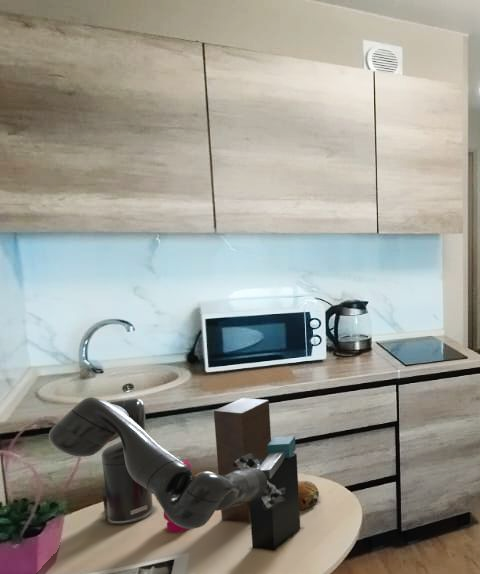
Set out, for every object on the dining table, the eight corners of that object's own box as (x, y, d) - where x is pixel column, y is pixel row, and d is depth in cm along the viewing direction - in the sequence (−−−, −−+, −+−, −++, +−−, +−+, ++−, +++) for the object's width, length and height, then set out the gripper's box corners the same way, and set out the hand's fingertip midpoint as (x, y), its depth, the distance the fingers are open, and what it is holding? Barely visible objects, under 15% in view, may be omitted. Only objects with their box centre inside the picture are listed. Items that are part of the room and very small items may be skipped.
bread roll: (313, 503, 175) (306, 477, 176) (327, 500, 169) (320, 474, 170) (277, 516, 167) (271, 490, 168) (291, 514, 161) (284, 486, 162)
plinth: (221, 520, 158) (213, 410, 153) (249, 501, 168) (242, 397, 163) (248, 523, 158) (241, 413, 152) (274, 503, 168) (268, 400, 162)
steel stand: (252, 548, 147) (247, 468, 144) (279, 526, 157) (275, 451, 153) (274, 550, 147) (269, 471, 143) (300, 528, 157) (296, 453, 153)
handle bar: (251, 480, 138) (250, 464, 138) (274, 450, 154) (274, 436, 153) (275, 478, 140) (274, 463, 139) (295, 449, 155) (295, 435, 154)
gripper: (206, 472, 129) (241, 464, 144) (242, 523, 128) (274, 510, 144) (238, 450, 131) (269, 445, 146) (274, 501, 130) (301, 490, 146)
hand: (271, 477), depth 145 cm, fingers open, 8 cm apart
